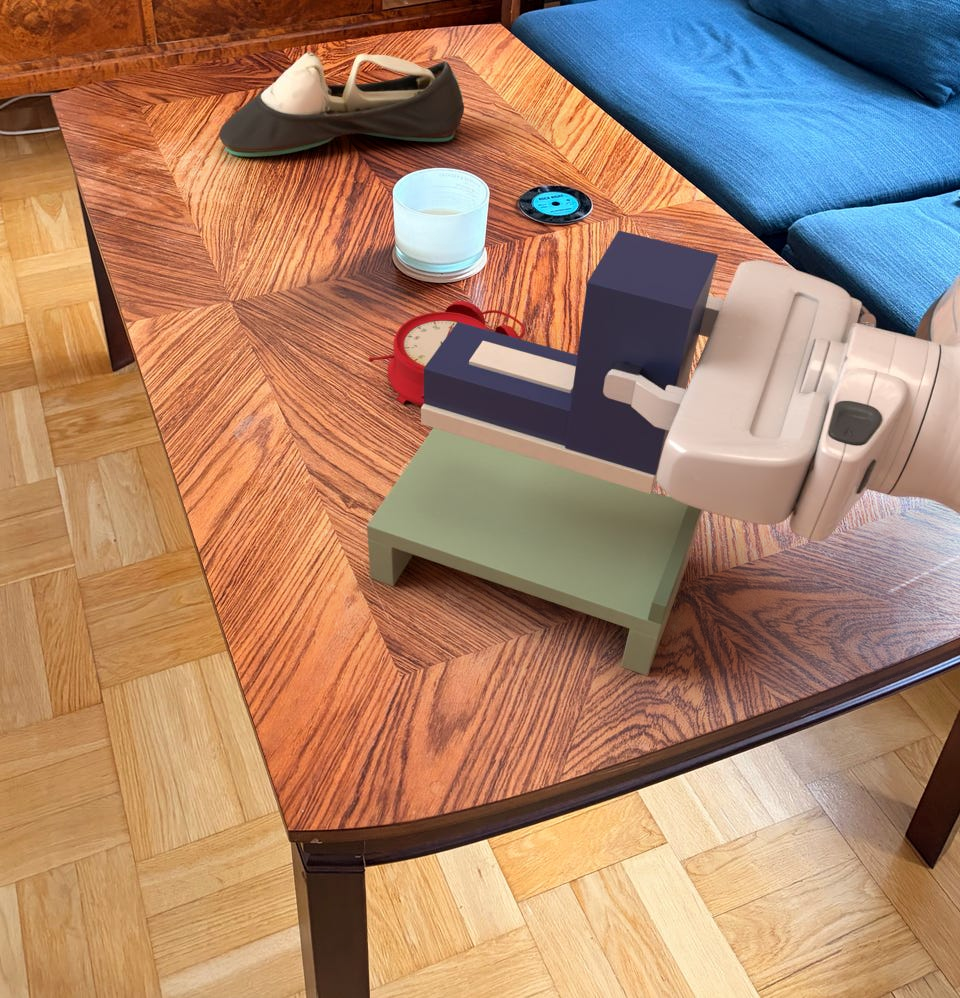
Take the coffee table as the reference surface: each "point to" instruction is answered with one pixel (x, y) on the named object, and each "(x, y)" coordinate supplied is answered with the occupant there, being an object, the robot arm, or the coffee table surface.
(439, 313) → the alarm clock
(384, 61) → the ballet flat
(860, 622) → the coffee table surface
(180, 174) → the coffee table surface
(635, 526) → the shoe rack
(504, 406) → the dark blue l-shaped block
